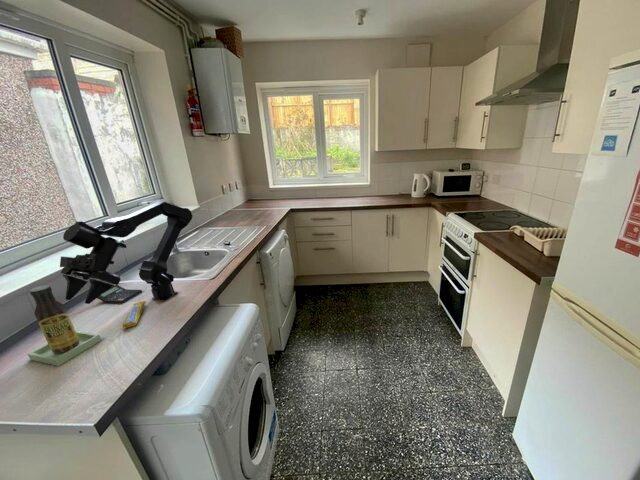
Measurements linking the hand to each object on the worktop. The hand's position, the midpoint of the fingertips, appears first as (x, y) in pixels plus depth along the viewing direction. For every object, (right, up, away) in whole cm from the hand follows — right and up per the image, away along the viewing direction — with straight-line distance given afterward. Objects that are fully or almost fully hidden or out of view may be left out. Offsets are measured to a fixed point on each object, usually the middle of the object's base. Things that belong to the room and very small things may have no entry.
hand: (77, 301), depth 87 cm
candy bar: (+7, -7, +14) cm, 18 cm away
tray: (-2, -14, -1) cm, 14 cm away
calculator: (-10, -2, +29) cm, 31 cm away
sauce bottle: (-2, -14, -1) cm, 14 cm away
